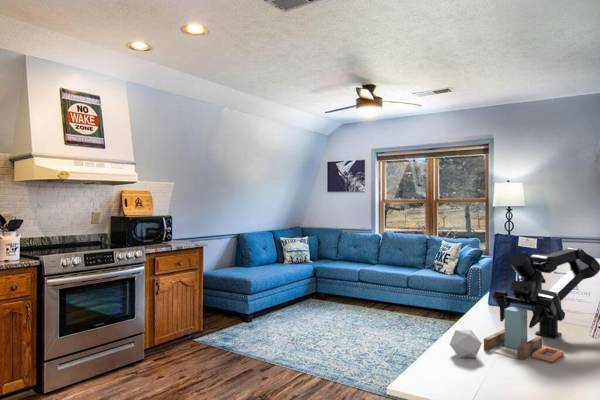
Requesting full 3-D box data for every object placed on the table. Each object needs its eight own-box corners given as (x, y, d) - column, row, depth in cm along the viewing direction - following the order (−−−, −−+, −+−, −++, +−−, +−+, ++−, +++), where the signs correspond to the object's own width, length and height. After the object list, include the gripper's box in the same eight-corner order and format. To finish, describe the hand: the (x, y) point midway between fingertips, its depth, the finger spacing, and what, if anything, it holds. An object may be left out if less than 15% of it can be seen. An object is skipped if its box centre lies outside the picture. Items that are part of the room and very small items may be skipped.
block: (511, 343, 142) (511, 306, 142) (527, 347, 138) (527, 309, 138) (504, 347, 139) (504, 309, 139) (520, 351, 135) (520, 312, 135)
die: (477, 366, 126) (489, 336, 129) (450, 350, 127) (463, 321, 130) (467, 365, 134) (478, 337, 136) (442, 350, 135) (454, 323, 138)
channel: (504, 339, 146) (504, 329, 146) (542, 348, 137) (542, 337, 137) (483, 349, 137) (483, 338, 137) (522, 360, 128) (522, 348, 128)
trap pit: (544, 350, 135) (544, 346, 135) (563, 355, 131) (563, 350, 131) (532, 358, 130) (532, 353, 130) (552, 363, 125) (552, 358, 125)
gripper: (494, 267, 149) (478, 304, 142) (552, 274, 134) (538, 316, 128) (505, 286, 154) (490, 322, 147) (562, 295, 140) (548, 336, 133)
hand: (515, 324), depth 139 cm, fingers open, 9 cm apart
